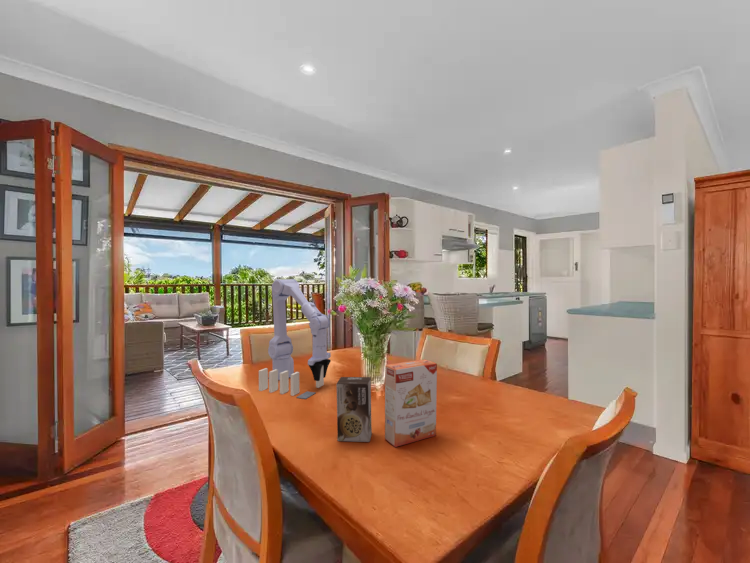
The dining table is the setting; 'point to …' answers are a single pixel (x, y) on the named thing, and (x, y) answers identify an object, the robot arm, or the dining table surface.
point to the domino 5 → (321, 382)
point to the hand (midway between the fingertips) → (319, 378)
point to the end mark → (306, 395)
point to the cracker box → (410, 401)
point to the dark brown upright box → (354, 409)
